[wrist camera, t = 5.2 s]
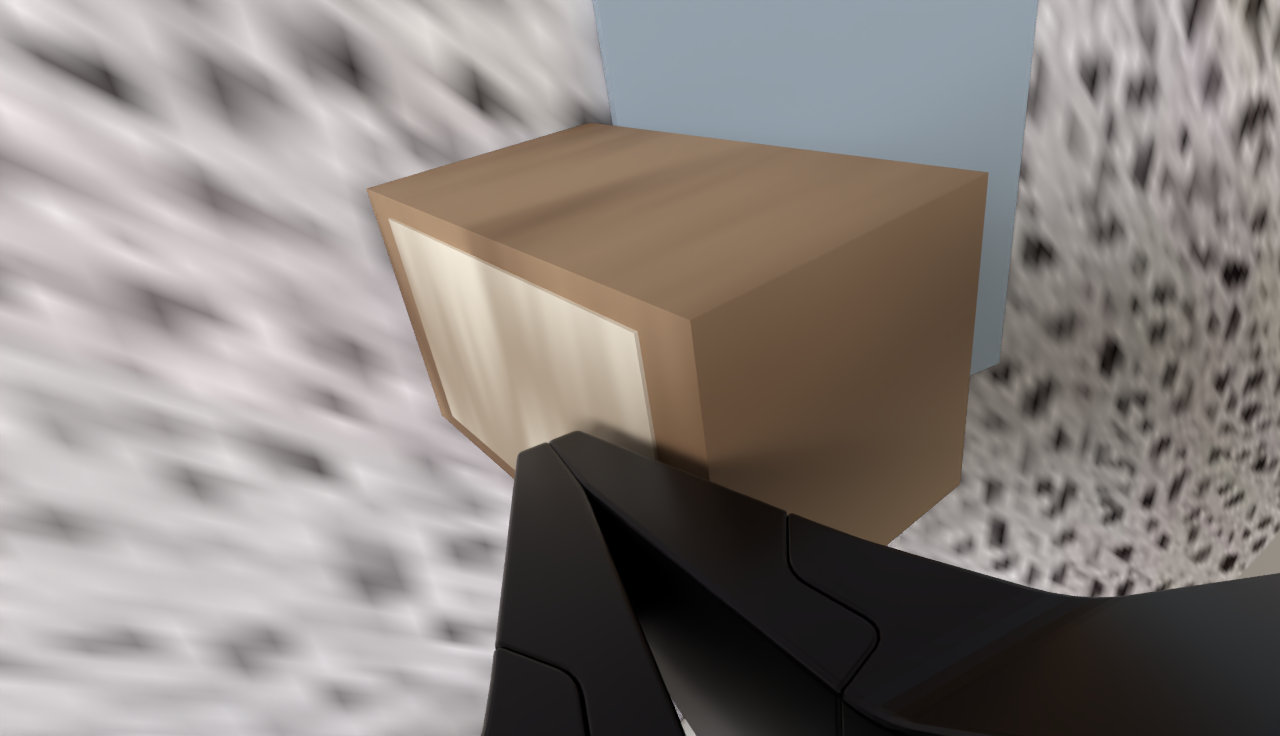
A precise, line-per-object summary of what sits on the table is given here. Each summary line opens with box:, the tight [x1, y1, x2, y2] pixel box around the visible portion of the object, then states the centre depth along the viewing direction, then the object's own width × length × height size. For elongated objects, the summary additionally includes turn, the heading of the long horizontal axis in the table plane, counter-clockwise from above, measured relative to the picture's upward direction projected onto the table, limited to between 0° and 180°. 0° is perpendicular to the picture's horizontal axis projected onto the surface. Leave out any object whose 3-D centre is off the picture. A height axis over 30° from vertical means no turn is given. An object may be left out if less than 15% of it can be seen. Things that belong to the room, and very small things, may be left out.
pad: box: [592, 0, 1038, 375], centre depth 19 cm, size 16×12×1 cm
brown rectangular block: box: [367, 123, 989, 546], centre depth 12 cm, size 5×5×9 cm
